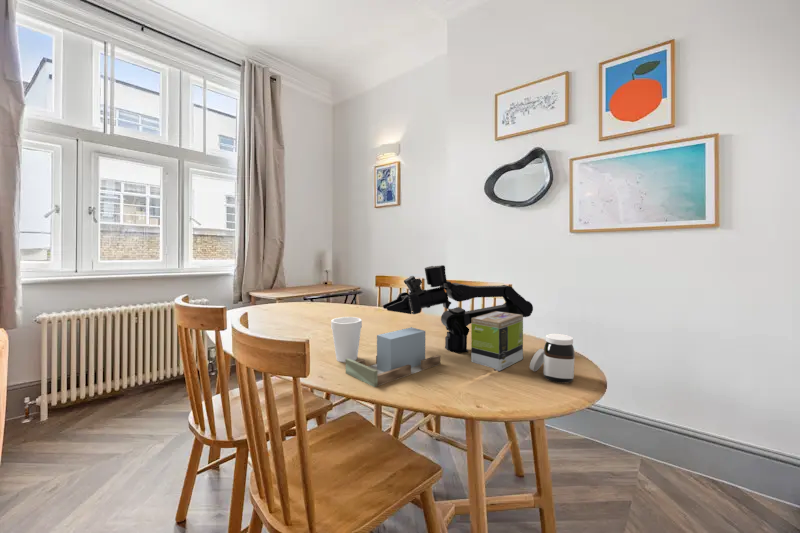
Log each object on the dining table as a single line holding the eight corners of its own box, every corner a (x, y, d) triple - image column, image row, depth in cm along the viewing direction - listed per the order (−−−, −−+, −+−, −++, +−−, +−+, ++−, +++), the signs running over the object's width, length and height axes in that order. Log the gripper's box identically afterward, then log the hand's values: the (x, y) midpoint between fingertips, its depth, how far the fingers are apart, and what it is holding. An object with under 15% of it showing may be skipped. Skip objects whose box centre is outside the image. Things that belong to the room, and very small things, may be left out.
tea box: (495, 353, 120) (496, 309, 119) (523, 360, 113) (524, 314, 112) (469, 363, 110) (470, 316, 109) (499, 372, 103) (500, 321, 101)
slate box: (411, 358, 113) (411, 327, 112) (425, 363, 108) (425, 330, 108) (376, 369, 103) (376, 335, 102) (390, 374, 99) (390, 339, 98)
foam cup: (325, 363, 110) (325, 321, 109) (341, 354, 118) (341, 316, 117) (352, 367, 106) (352, 324, 105) (367, 358, 115) (366, 318, 114)
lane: (398, 351, 122) (398, 338, 121) (456, 371, 103) (456, 355, 103) (334, 369, 104) (334, 354, 104) (389, 396, 86) (389, 378, 86)
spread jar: (575, 387, 92) (577, 343, 91) (529, 381, 96) (530, 338, 95) (570, 371, 103) (572, 332, 103) (529, 366, 107) (530, 328, 106)
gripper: (418, 275, 129) (376, 283, 127) (432, 273, 111) (383, 284, 108) (424, 305, 129) (383, 314, 126) (439, 308, 111) (391, 319, 108)
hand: (384, 307), depth 117 cm, fingers open, 9 cm apart
